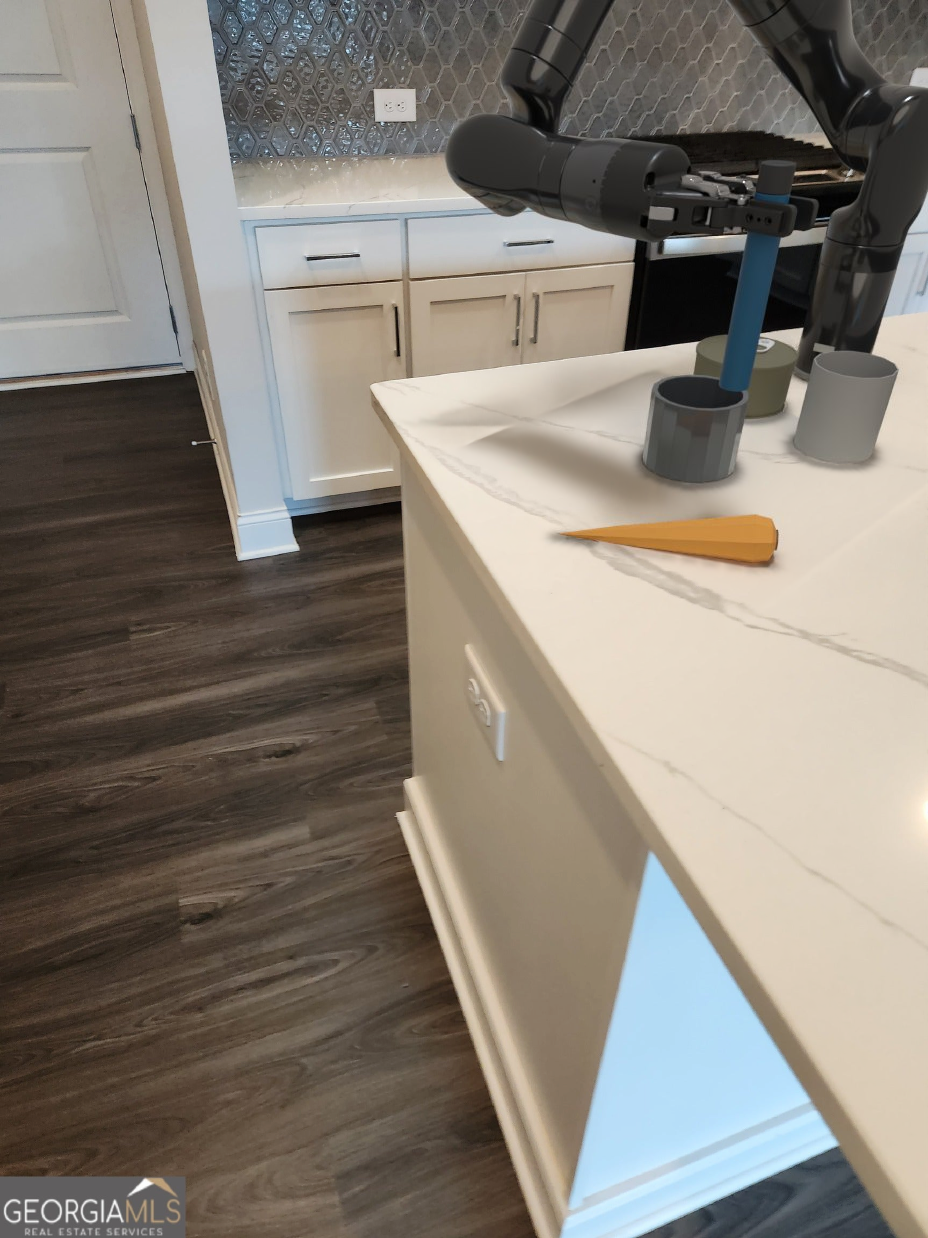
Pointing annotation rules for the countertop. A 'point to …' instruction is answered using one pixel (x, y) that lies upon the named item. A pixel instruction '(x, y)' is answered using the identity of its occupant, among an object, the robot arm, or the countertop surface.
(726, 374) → the marker
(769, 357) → the can
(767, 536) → the carrot
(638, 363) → the countertop surface
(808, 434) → the cup
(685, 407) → the pen pot
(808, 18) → the robot arm
